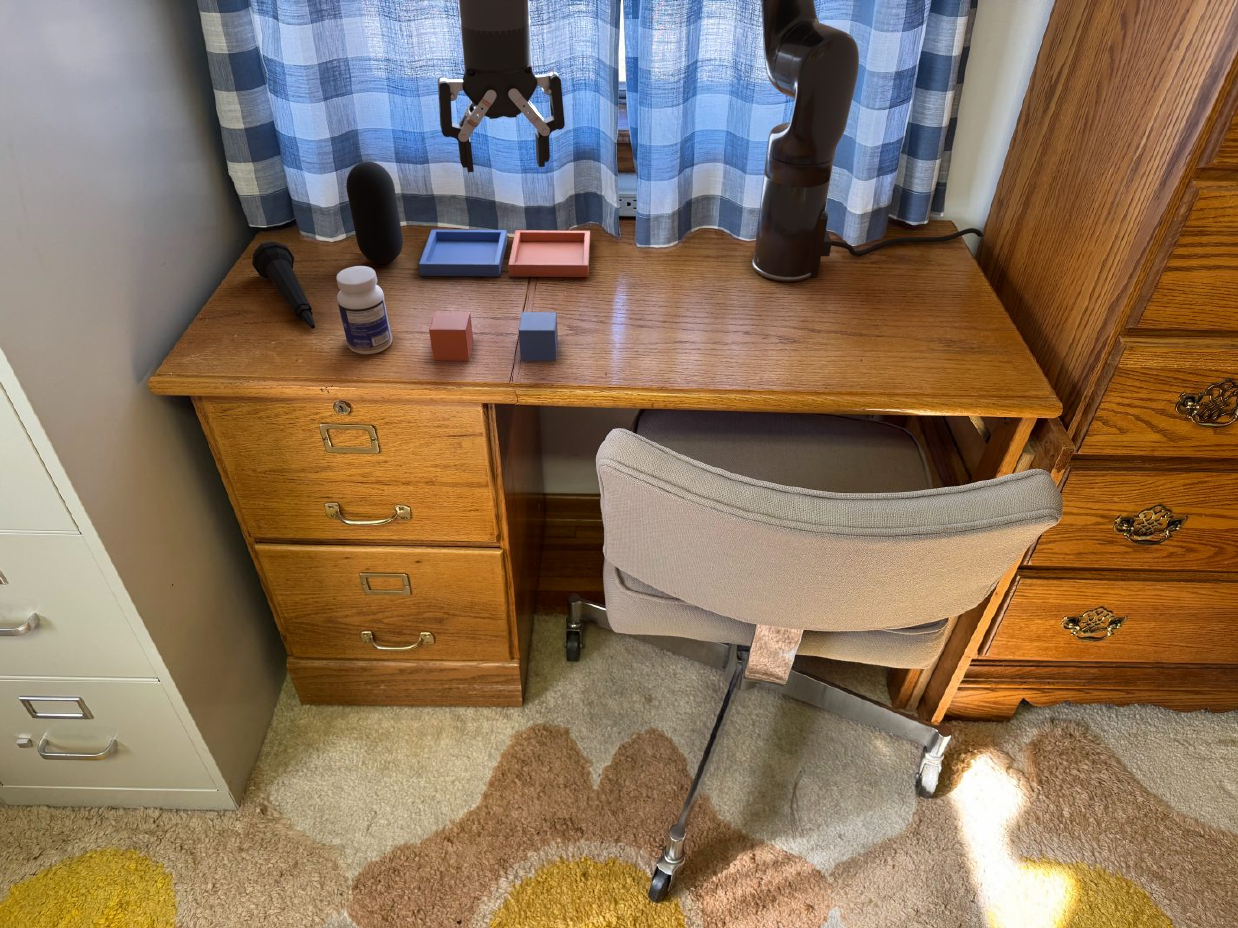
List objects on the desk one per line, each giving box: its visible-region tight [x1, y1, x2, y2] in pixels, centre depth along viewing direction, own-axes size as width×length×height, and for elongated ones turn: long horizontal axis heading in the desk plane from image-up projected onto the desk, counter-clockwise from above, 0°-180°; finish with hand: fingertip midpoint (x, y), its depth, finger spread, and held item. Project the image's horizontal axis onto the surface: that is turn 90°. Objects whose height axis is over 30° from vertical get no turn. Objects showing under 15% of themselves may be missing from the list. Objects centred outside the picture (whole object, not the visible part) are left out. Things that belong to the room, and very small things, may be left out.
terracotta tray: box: [507, 229, 591, 278], centre depth 128 cm, size 12×12×2 cm
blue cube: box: [518, 311, 559, 362], centre depth 108 cm, size 4×4×4 cm
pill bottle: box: [336, 265, 393, 355], centre depth 107 cm, size 6×6×10 cm
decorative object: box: [345, 161, 404, 265], centre depth 123 cm, size 7×7×15 cm
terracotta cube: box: [428, 310, 474, 361], centre depth 108 cm, size 4×4×4 cm
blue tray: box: [418, 229, 508, 277], centre depth 128 cm, size 12×12×2 cm
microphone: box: [251, 240, 316, 330], centre depth 118 cm, size 6×6×20 cm
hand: (506, 167), depth 102 cm, fingers open, 8 cm apart
